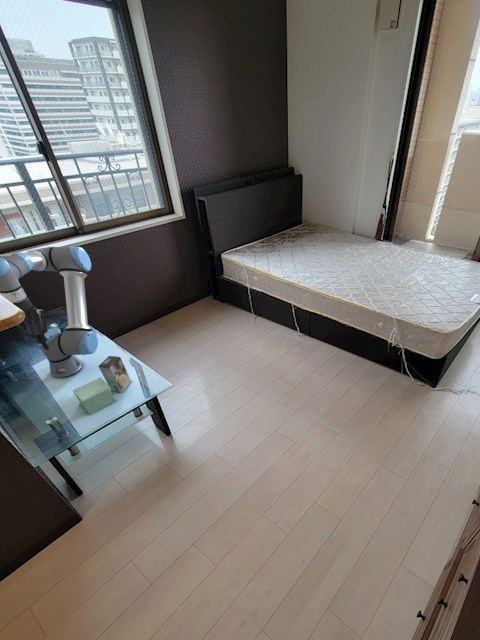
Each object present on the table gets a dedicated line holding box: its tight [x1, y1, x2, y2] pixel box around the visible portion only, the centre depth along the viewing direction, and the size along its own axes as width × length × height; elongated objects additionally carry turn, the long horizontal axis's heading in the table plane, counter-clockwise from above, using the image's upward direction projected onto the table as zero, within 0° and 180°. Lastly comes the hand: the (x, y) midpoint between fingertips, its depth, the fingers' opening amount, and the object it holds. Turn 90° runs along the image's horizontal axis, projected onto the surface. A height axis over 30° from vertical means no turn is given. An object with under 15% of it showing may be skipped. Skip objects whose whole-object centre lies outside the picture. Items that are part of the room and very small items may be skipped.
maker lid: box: [72, 377, 111, 402], centre depth 163 cm, size 13×11×1 cm
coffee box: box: [97, 355, 132, 393], centre depth 172 cm, size 9×6×16 cm
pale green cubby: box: [73, 389, 116, 415], centre depth 166 cm, size 13×11×8 cm
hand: (46, 348), depth 153 cm, fingers closed
